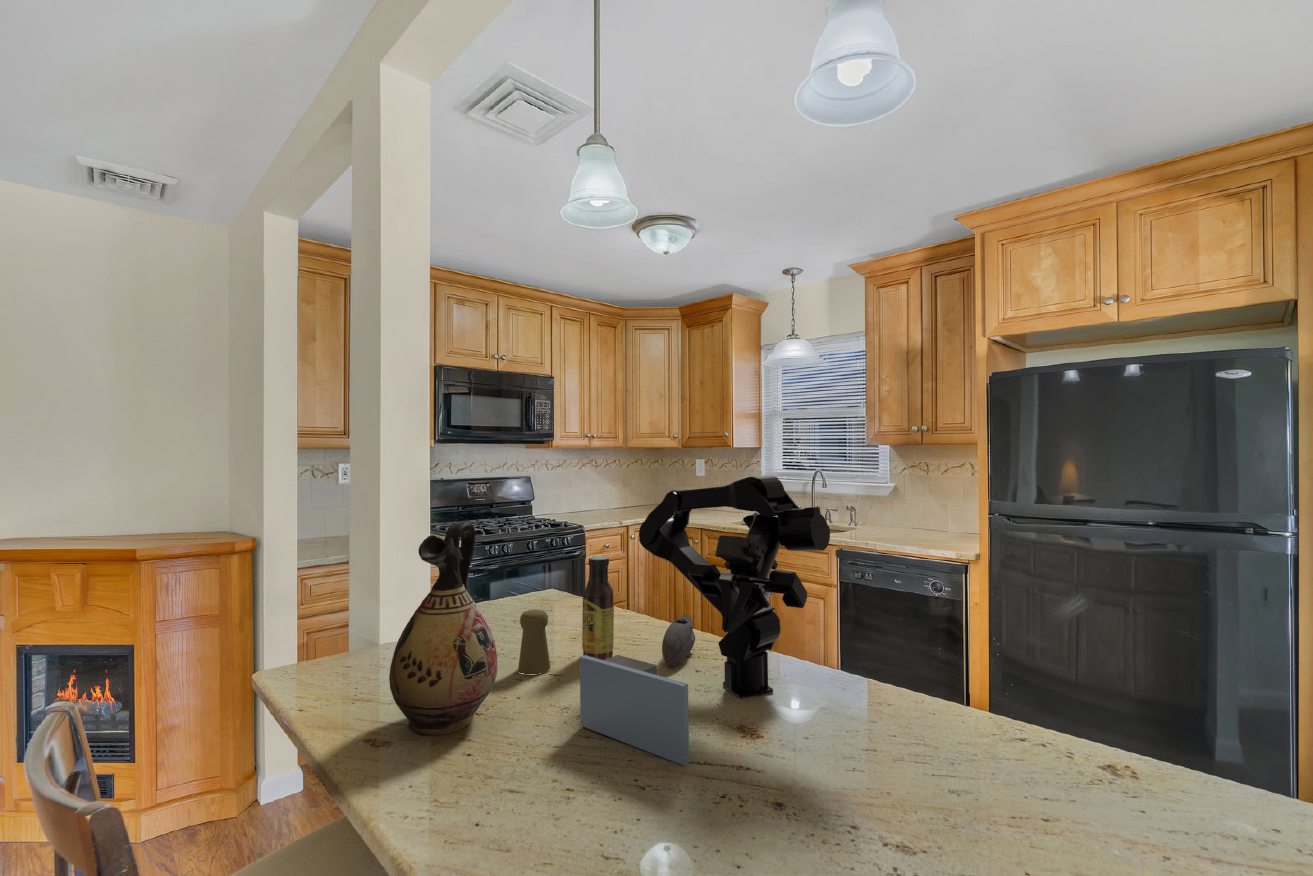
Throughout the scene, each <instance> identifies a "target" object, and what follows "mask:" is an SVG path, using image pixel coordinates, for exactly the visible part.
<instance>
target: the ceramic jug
mask: <svg viewBox="0 0 1313 876" xmlns="http://www.w3.org/2000/svg"><path fill="white" fill-rule="evenodd" d="M475 530H476V529H475V526H474V524H472V523H471V522H470V521H467V520H462V521H459V522H453V523H452V524H451V525H449V527H448V529H447V530H446V533H445V537H444V539H442V538H441V537H440V536H439V537H438V536H437V535H435V534H433V535H432V534H431V535H428V536H427V537H426V538H425V539H424V540H423V541H422V542H421V543H420V545H419V547H418V556H419V557H420V559H421V560H422V561H423V562H425V563H428V564H430V565H433V566H435V567H437V568H438V577H437V579H436V581H435V582H434V584H433V585H432V587H431V589H430V591H429V593H428V594H427V595H426V596H425V597H424V599H422V601H421V603H420V604H419V606H418V607H417V608H416V609H415V611H414V613H413V614H412V616H411V617H410V618H409V620H408V622H407V624H406V625H405V627H404V629H403V630H402V632H401V634H400V636H399V638H398V641H397V643H396V645H395V647H394V648H395V649H394V651H393V656H392V658H391V664H390V667H389V676H388V677H389V679H388V680H389V681H388V682H389V689H390V691H391V692H390V693H391V695H392V698H393V701H394V703H395V704H396V705H397V708H399V710H400V711H401V713H402V714H403V715H404V716H405V718H406V719H407V720H408V722H409V723H408V724H407V727H408V728H409V729H410V730H411V732H412V733H414V734H416V735H420V736H422V737H423V736H428V735H435V736H436V735H437V736H438V735H446V734H445V733H447V734H449V733H448V732H451V733H454V732H453V731H455V732H457V731H456V730H458V729H460V730H462V729H463V728H465V727H466V726H469V725H470V724H471V723H472V721H473V720H474V717H475V714H476V712H477V711H478V709H479V708H480V707H481V705H482V704H483V702H484V701H485V700H486V699H487V697H488V696H489V695H490V693H491V691H492V689H493V687H494V685H495V682H496V678H497V675H498V653H497V647H496V643H495V642H496V641H495V638H494V635H493V633H492V630H491V628H490V626H489V624H488V622H487V620H486V618H485V616H484V615H483V613H482V612H481V610H480V609H479V607H478V605H477V603H476V602H475V600H473V598H472V596H471V595H470V594H469V592H468V591H467V590H468V578H469V575H470V574H469V572H470V568H471V564H472V560H473V557H474V556H473V555H474V551H475V545H476V531H475ZM472 719H473V720H472ZM469 723H470V724H469ZM468 724H469V725H468ZM461 728H462V729H461ZM458 731H459V730H458Z"/></svg>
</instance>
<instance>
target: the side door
mask: <svg viewBox="0 0 1313 876" xmlns="http://www.w3.org/2000/svg"><path fill="white" fill-rule="evenodd" d="M579 688H580V689H579V690H580V691H579V692H580V693H579V698H580V701H579V703H580V706H579V708H580V711H579V712H580V715H579V716H580V719H579V720H580V723H579V724H580V726H581V727H582V728H583V727H584V728H585V729H589V730H590V731H594V732H596V733H599V734H602V735H604V736H606V737H609V738H612V739H615V740H617V741H619V742H622V743H625V744H627V745H630V746H633V747H635V748H638V749H640V750H644V751H647V752H649V753H651V754H654V755H655V756H659V757H662V758H664V759H666V760H669V761H672V762H674V763H677V764H680V765H683V766H686V765H688V764H689V763H690V744H689V743H690V741H689V740H690V739H689V738H690V736H689V734H690V733H689V728H690V727H689V722H690V721H689V684H688V683H686V682H683V681H679V680H675V679H673V678H668V677H664V676H661V675H658V674H657V675H654V674H651V673H647V672H644V671H640V670H636V669H633V668H629V667H626V666H622V665H618V664H615V663H611V662H608V661H604V660H601V659H597V658H593V657H590V656H586V655H584V656H583V655H581V656H579Z"/></svg>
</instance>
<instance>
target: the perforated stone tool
mask: <svg viewBox="0 0 1313 876" xmlns="http://www.w3.org/2000/svg"><path fill="white" fill-rule="evenodd" d="M695 641H696V635H695V633H694V623H693V619H692V618H691V617H689V616H686V615H681V616H679V617H677V618H675V619H674V620H673V621H672V622H671V623H670V624H669V625H668V628H667V629H666V630H665V633H664V635H663V639H662V645H661V655H662V659H663V661H664V663H665V664H666V666H667V667H674V666H677V665H679V664H681V663H682V662H683V661H684V660H685V659H686V658H688V656H689V655H690V653H691V652H692V650H693V648H694V645H695Z"/></svg>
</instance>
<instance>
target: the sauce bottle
mask: <svg viewBox="0 0 1313 876" xmlns="http://www.w3.org/2000/svg"><path fill="white" fill-rule="evenodd" d="M609 564H610V558H609V557H608V556H605V555H594V556H590V557H589V558H588V563H587V565H588V566H589V568H588V569H589V570H588V571H589V574H588V581H587V584H586V586H585V590H584V593H583V596H582V620H581V621H582V624H581V625H582V626H581V627H582V633H581V634H582V637H581V638H582V640H581V641H582V643H581V644H582V645H581V646H582V647H581V648H582V656H584V655H586V656H590V657H593V658H597V659H601V660H605V659H608V658H611V657H613V654H614V653H613V652H614V649H615V648H614V645H615V644H614V643H615V642H614V641H615V640H614V639H615V637H614V634H615V633H614V631H615V630H614V629H615V628H614V627H615V605H614V595H615V594H614V589H613V588H612V586H611V584H610V582H609Z"/></svg>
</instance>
